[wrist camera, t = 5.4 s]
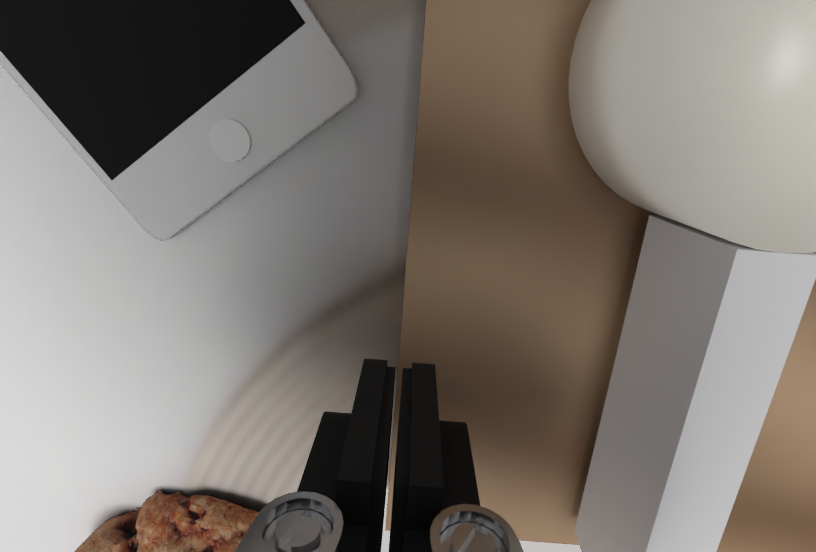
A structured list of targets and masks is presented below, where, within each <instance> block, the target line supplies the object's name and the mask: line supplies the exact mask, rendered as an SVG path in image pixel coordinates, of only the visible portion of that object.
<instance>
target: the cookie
mask: <svg viewBox="0 0 816 552" xmlns="http://www.w3.org/2000/svg"><path fill="white" fill-rule="evenodd" d="M258 514H259V512H256V511H254V510H251V509H244V508H243V507H241V506H239V505H236V504H233V503H230V502H228V501H226V500H221V499H218V498H215V497H212V496H209V495H193V496H190V494H189V497H187V496H183V495H182V494H180V493H179V492H177V493H174V494H172V495H166V494H164V493H162V491H161V490H159V491H158V492H157V493H155V494H154V495H152V496H151V497H149V498H148V499H147V500H146V501H145V502H144V503H143V505H142V507H141V508H137V512H135V511H132V512H127V513H126V514H124V515H118V516H116V517H113V518H111V519H109V520H107V521H106V522H105V523H103V524H102V525H101V526H99V527H98V528H97V529H96V530H95V531H94V532H93V533H92V534H91V535H90V536H89V537H88V538H87V539H86V540H85V541H84V542H83V543H82V544H81V545H80V546H79V547H78V548H77V549H76V551H75V552H235V550H236V548H237V547H238V545H239V544H240V542H241V540H242V539H243V537H244V535H245V534H246V532H247V530H248V529H249V527H250V526H251V524H252V522H253V521H254V519H255V517H256V516H257V515H258Z"/></svg>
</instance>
